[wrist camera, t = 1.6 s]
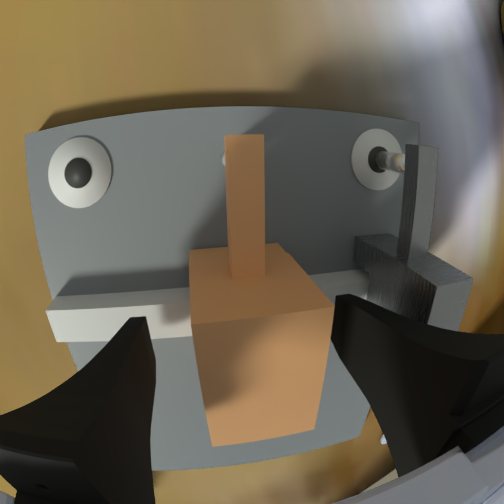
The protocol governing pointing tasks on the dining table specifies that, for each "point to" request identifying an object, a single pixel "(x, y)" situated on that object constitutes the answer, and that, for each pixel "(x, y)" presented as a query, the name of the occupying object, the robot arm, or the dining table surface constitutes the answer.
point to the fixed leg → (413, 250)
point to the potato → (502, 17)
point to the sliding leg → (255, 318)
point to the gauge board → (205, 242)
